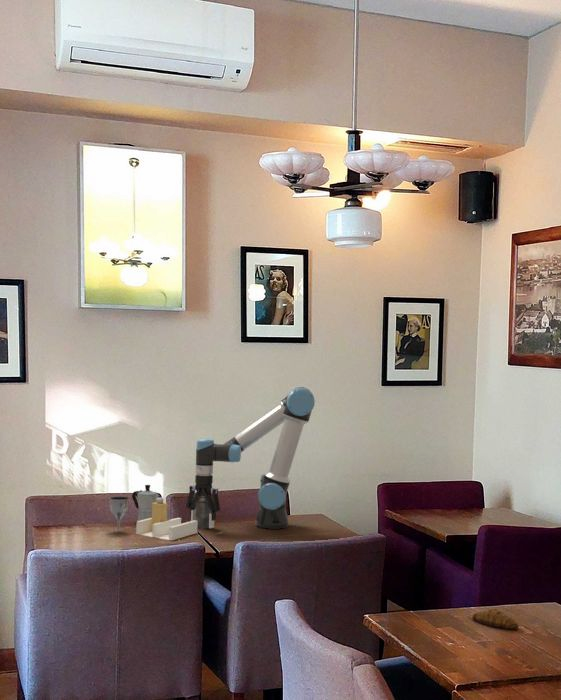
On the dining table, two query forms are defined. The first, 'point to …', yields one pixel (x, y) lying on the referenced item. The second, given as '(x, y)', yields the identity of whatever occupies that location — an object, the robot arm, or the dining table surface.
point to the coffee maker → (144, 502)
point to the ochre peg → (159, 511)
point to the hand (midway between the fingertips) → (202, 526)
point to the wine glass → (119, 507)
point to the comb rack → (166, 528)
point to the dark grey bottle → (202, 513)
